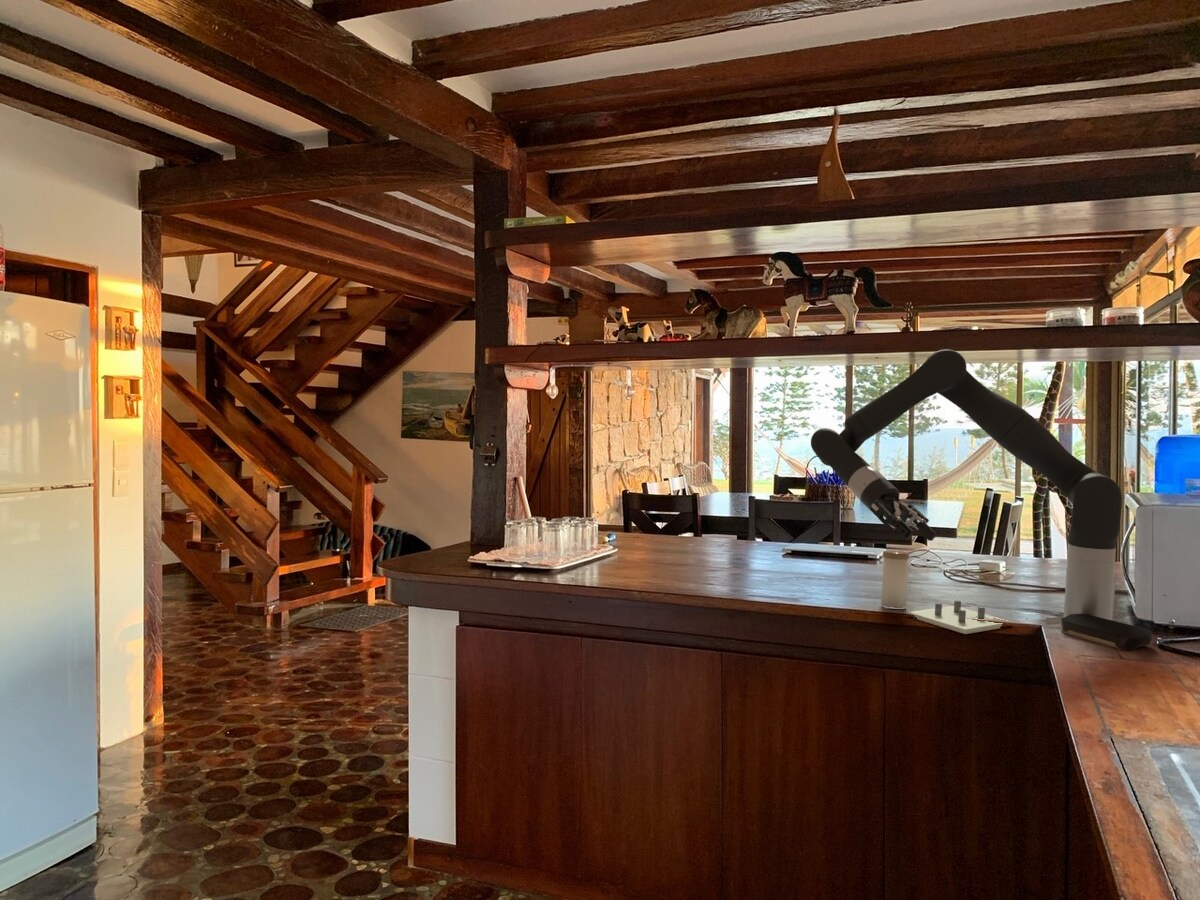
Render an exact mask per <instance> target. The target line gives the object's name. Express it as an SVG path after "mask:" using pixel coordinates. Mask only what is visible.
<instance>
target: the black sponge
mask: <svg viewBox="0 0 1200 900" xmlns="http://www.w3.org/2000/svg"><path fill="white" fill-rule="evenodd" d="M1060 620H1061V624H1060V633H1063V634H1066V635H1070V636H1073V637H1076V638H1081V639H1083V640H1084V639H1085V640H1088V641H1091V642H1095V643H1099V644H1100V645H1101V644H1102V645H1105V646H1109V647H1112V648H1116V649H1118V650H1122V651H1123V650H1124V651H1133V650H1136V649H1138V648H1140V647H1145V646H1149V645H1150V644H1151V642H1152V640H1153V631H1152V630H1150V629H1148V628H1145V627H1141V626H1136V625H1133V624H1129V623H1124V622H1119V621H1117V620H1116V621H1115V620H1113V621H1112V620H1108V619H1104V618H1100V617H1096V616H1092V615H1089V614H1070V615H1068V616H1067V617H1064V616H1063V617H1062V618H1060Z"/></svg>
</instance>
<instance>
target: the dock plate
mask: <svg viewBox="0 0 1200 900" xmlns="http://www.w3.org/2000/svg"><path fill="white" fill-rule="evenodd" d="M985 612H986V607H983V606H978V607H977V611H976V610H971V609H968V608H964V607H962V601H961V600H957V599H955V600H954V601H953V605H948V606H943V604H942V603H940V602H935V604H934V608H928V609H922V610H916V611H915V610H914V611H909V612H907V613H908V614H911V615H914V616H915V617H916V618H917V619H916V620H919V621H921V622H924V623H927V624H931V625H935V626H937V627H941V628H944V629H947V630H951V631H954V632H957V633H960V634H964V635H968V634H975V633H980V632H985V631H991V630H997V629H1001V628H1000V627H1001V626H1002V624H1003V623H994V622H988V621H977V620H972V619H967V618H966V617H968V618H971V617H976V616H978V619H985V617H986V618H989V619H993V618H996V619H1000V620H1001V619H1002V620H1006V621H1010V620H1007V619H1003V618H1000V617H996V616H993V615H989V614H986V613H985ZM1010 622H1012V620H1011V621H1010Z"/></svg>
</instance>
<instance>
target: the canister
mask: <svg viewBox="0 0 1200 900" xmlns="http://www.w3.org/2000/svg"><path fill="white" fill-rule="evenodd" d="M882 557H883V559H882V560H883V561H882V581H881V582H882V584H881V585H882V586H881V600H880V603H881V605H883V606H887V607H894V608H903V607H906V608H907V594H908V574H909V572H908V571H909V558H910V553H909V552H907V551H904V550H903V551H902V550H894V549H891V550H889V549H886V550H883V551H882ZM881 605H880V606H881Z"/></svg>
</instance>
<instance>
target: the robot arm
mask: <svg viewBox="0 0 1200 900" xmlns="http://www.w3.org/2000/svg"><path fill="white" fill-rule="evenodd" d="M937 394H939V395H940V396H941V397H943V398H945V399H946V400H948V401H949V402H950V403H952V404H953V405H955V406H957V408H959V409H960V410H962V411H963V412H964V413H965V414H967V416H968V417H969V418H970V419H971V420H972V421H973V422H974V423H975V424H976V425H977V426H979V428H980V429H981V430H983V431H984V432H985V433H986V434H988V436H989V437H990V438H991V439H993V440H994V441H995V442H996V443H998V445H1000V446H1001V447H1002V448H1004V450H1006V451H1007V452H1008V453H1010V454H1011V455H1012V456H1014V457H1015V458H1016V459H1018V460H1019V461H1021V462H1022V463H1024V464H1025V465H1027V466H1028V467H1030V468H1032V469H1033V470H1035V471H1037V472H1038V473H1039V474H1041V475H1042V476H1044V477H1045V478H1046V479H1047V480H1049V481H1050V483H1052V484H1053V485H1054V486H1055V487H1056V488H1057V489H1058V490H1059V491H1060V492H1061V493H1062V494H1063V495H1064V496H1065V497H1066V499H1068V500H1069V501H1070V503H1071V504H1072V511H1071V512H1072V513H1071V524H1070V525H1071V526H1070V529H1069V531H1068V534H1067V535H1068V536H1067V537H1068V538H1067V553H1066V554H1067V555H1066V556H1067V557H1066V571H1065V572H1066V573H1065V574H1066V575H1065V585H1064V586H1065V589H1064V603H1063V604H1064V605H1063V618H1064V617H1067V616H1068V615H1070V614H1089V615H1092V616H1096V617H1100V618H1104V619H1108V620H1112V621H1114V607H1115V593H1116V591H1115V590H1116V581H1115V570H1116V569H1115V567H1116V554H1117V553H1116V552H1117V541H1118V538H1119V534H1120V529H1121V528H1120V527H1121V518H1122V516H1121V515H1122V505H1123V497H1122V496H1123V494H1122V490H1121V487H1120V486H1119V484H1118V483H1117V482H1116V481H1115V480H1114V479H1112V478H1111V477H1108V476H1106V475H1105V474H1101V473H1100V472H1098V471H1096V470H1095V469H1093V468H1091V467H1090V466H1088V465H1087V464H1085V463H1084V462H1082V461H1081V460H1079V459H1078V458H1077V457H1075V456H1074V455H1072V454H1071V453H1070V452H1069V451H1068V450H1067V449H1066V448H1065V447H1064V446H1063V445H1062V443H1060V442H1059V441H1060V440H1058V439H1057V438H1056V437H1055V436H1054V435H1053V434H1052V433H1051V432H1050V431H1049V429H1047V428H1046V427H1045V425H1043V424H1042V423H1041V422H1040V421H1039V420H1037V419H1036V418H1035V416H1033V415H1031V414H1030V412H1028V411H1026V410H1025V409H1024V408H1022V407H1021V406H1020V405H1018V404H1017V403H1015V402H1013V401H1011V400H1010V399H1007V398H1006V397H1004V396H1002V395H1000V394H998V393H996V392H995V391H993V390H991V389H989V388H987V387H986V386H985V385H984V384H982V383H981V382H980V381H979V380H978V379H976V378H975V377H974V376H973V375H972V374H971V373H970V372H969V370H967V361H966V359H965V358H964V356H963V355H962V354H960V353H959V352H957V351H955V350H953V349H940V350H937V351H935V352H933V353H931V355H929V356H928V357H927V359H926V360H925V361H924V362H923V363H922V364H921V365H920V366H919V367H918V368H917V369H916V370H915V371H914V372H913V373H912V374H909V376H908V377H906V378H905V379H904V380H902V381H901V382H900V383H898V384H897V385H896V386H894V387H892V388H891V389H888V390H887V391H886V392H883V394H881V395H880V396H878V397H876V398H875V399H873V400H871V401H870V402H868V403H866V405H864V406H862V407H860V408H859V409H858V410H856V411H855V412H853V413H852V414H850V415H849V416H848V417H847V418H845V420H844V429H843V430H842V431H841V432H840V433H838V431H835V430H834V429H832V428H828V427H823V428H819V429H817V430H816V431H814V432H813V434H812V436H811V438H810V447H811V449H812V452H813V453H814V454H815V455H816V456H817V457H818V458H817V459H819V460H820V462H821V463H822V464H823V465H825V466H826V467H830V468H832V470H833V472H835V474H836V476H837V477H838V478H839V480H841V481H842V483H843V484H845V485H846V486H847V488H848V489H850V490H851V492H852V494H854V496H855V497H856V498H857V499H858V500H859V501H861V503H862V504H864V506H865V507H866V508H867V509H868V510H869V511H871V513H872V514H873V515H875V517H876V518H877V519H878V520H879V521H880V522H881V523H882V524H883V526H886V527H888V526H890V527H891V528H893V529H895V530H896V531H897V532H898V533H899V534H900V535H901V536H902V537H903V538H904V539H905V540H910V539H911V537H912V536H913V535H914V533H915V531H914V530H913V529H912V528H914V529H916V530H917V531H918V532H919V533H920V535H922V536H923V537H924V539H926V540H927V541H929V542H932V541H933V540H934V539H935V538H936V537H937V532H936V531H935V530H933V528H932V527H930V525H929V524H928V523H929V522H930V519H928V517H926V516H925V515H924V514H923V513H921V511H919V509H917V507H915V506H914V505H913V504H912V503H909V504H908V505H907V504H906V503H904V502H903V501H900V490H899V489H898V488H897V487H895V486H894V484H892V482H890V481H889V480H888V479H887V478H886V477H885V476H884V475H883V474H882V473H881V472H879V471H878V470H877V469H875V468H874V467H873V466H871V464H869V463H868V462H867V461H866V460H865V459H864V458H863V457H862V456H860V455H859V454H858V453H857V450H859V449H860V448H861V446H862V445H863V444H864V443H865V442H866V441H867V440H869V439H870V438H871V437H873V436H875V435H877V434H878V433H880V432H882V430H884V429H886V428H887V427H888V426H889V425H891V424H893V423H894V422H895V421H896V420H897V419H899V418H900V417H901V416H903V415H904V414H905V413H907V412H908V411H909V410H910V409H912V408H914V407H915V406H916V405H918V404H919V403H921V402H923V401H924V400H926V399H927V398H928V399H929V398H930V397H931V396H934V395H937ZM911 527H912V528H911Z"/></svg>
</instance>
